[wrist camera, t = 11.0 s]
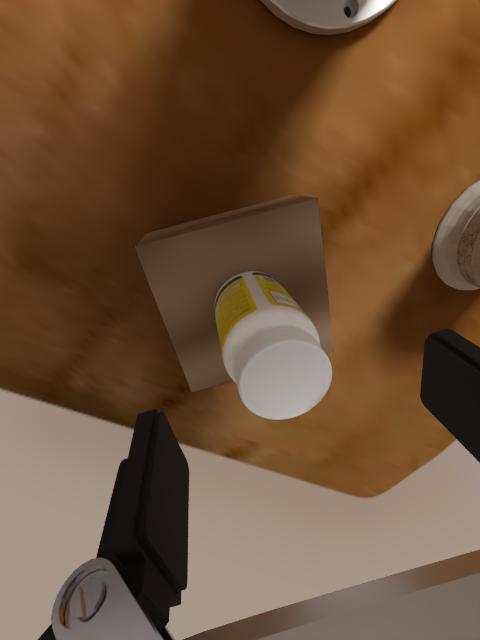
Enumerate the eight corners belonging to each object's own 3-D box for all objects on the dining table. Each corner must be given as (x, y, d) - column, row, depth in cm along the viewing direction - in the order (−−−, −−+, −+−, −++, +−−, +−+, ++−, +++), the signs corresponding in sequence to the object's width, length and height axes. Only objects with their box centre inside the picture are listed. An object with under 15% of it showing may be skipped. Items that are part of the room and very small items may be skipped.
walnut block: (146, 232, 22) (134, 247, 17) (292, 194, 22) (317, 198, 17) (191, 356, 26) (191, 392, 22) (310, 323, 27) (333, 352, 22)
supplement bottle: (219, 341, 21) (235, 436, 13) (207, 276, 18) (218, 344, 11) (287, 329, 21) (340, 415, 13) (283, 263, 19) (343, 321, 11)
